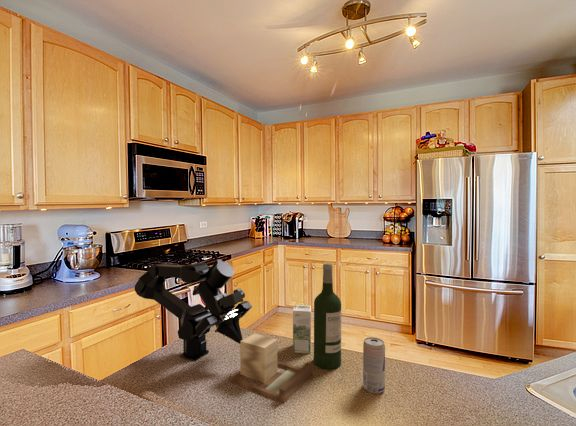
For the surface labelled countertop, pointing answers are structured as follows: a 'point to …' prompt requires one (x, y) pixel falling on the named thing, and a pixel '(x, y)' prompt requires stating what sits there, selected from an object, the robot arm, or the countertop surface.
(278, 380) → the tray
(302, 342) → the syrup box
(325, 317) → the wine bottle
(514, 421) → the countertop surface
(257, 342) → the maple block
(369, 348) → the energy drink
